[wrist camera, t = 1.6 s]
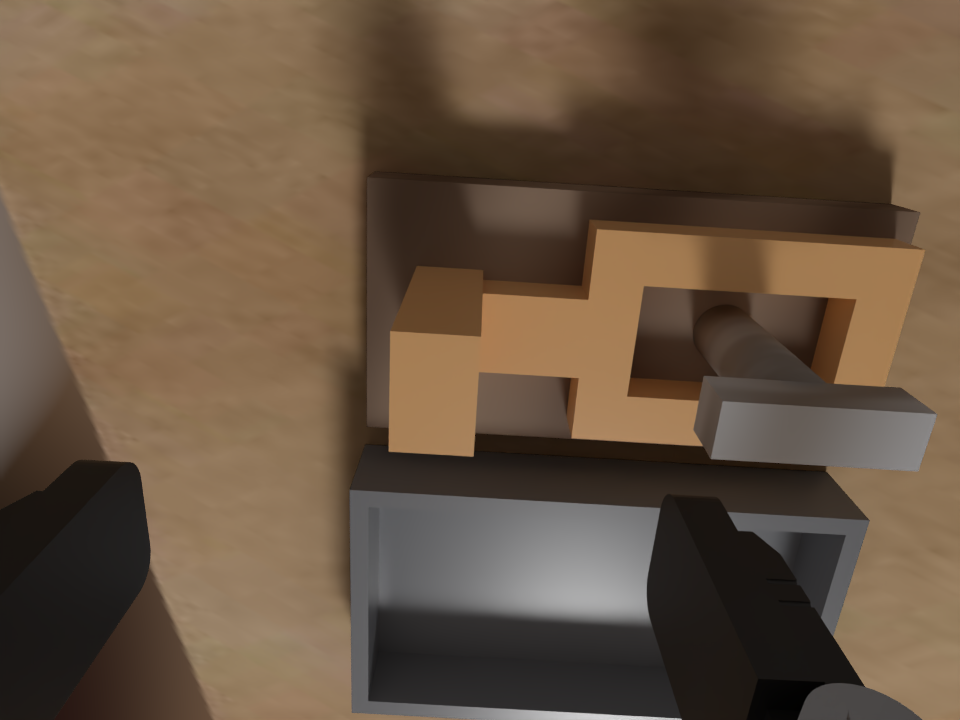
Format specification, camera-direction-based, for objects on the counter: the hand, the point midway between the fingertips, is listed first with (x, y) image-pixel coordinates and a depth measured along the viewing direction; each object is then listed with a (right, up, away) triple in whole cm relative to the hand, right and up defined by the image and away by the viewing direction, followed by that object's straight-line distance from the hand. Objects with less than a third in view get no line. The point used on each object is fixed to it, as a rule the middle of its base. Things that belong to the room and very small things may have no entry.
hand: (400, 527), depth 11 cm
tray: (+5, -5, +16) cm, 17 cm away
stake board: (+6, +4, +12) cm, 14 cm away
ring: (+6, +4, +11) cm, 13 cm away
